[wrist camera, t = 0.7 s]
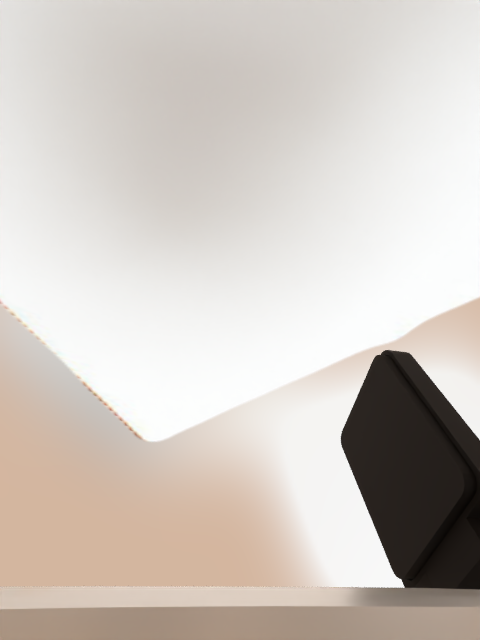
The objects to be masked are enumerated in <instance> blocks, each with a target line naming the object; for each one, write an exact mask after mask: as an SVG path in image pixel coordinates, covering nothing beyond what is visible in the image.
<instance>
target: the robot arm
mask: <svg viewBox="0 0 480 640" xmlns="http://www.w3.org/2000/svg"><path fill="white" fill-rule="evenodd" d="M341 445H342V448H343V450H344V453H345V455H346V458H347V460H348V463H349V465H350V467H351V470H352V472H353V475H354V477H355V480H356V482H357V485H358V487H359V489H360V492H361V494H362V497H363V499H364V501H365V504H366V507H367V509H368V511H369V514H370V516H371V518H372V521H373V524H374V526H375V529H376V531H377V533H378V536H379V538H380V541H381V543H382V546H383V548H384V550H385V553H386V555H387V558H388V560H389V563H390V565H391V568H392V570H393V572H394V574H395V575H396V576H397V577H398V578H400V579H402V582H403V584H404V586H405V588H358V587H355V588H354V587H133V586H127V587H125V586H122V587H121V586H119V587H116V586H114V587H113V586H112V587H111V586H110V587H109V586H103V587H102V586H100V587H98V586H97V587H96V586H91V587H90V586H87V587H0V640H480V440H479V439H478V438H477V436H476V435H475V434H474V433H473V432H472V430H471V429H470V428H469V426H468V425H467V424H466V423H465V421H464V420H463V419H462V418H461V416H460V415H459V414H458V413H457V412H456V410H455V409H454V408H453V406H452V405H451V404H450V403H449V401H448V400H447V399H446V398H445V396H444V395H443V394H442V393H441V392H440V390H439V389H438V388H437V386H436V385H435V384H434V383H433V381H432V380H431V379H430V378H429V377H428V375H427V374H426V373H425V371H424V370H423V369H422V368H421V366H420V365H419V364H418V363H417V362H416V360H415V359H414V358H413V357H412V355H411V354H409V353H407V352H399V351H391V350H385V351H383V352H382V353H381V355H377V356H376V357H375V358H374V360H373V362H372V364H371V366H370V369H369V371H368V373H367V376H366V378H365V380H364V383H363V385H362V387H361V389H360V392H359V394H358V397H357V399H356V401H355V403H354V405H353V408H352V410H351V412H350V415H349V417H348V419H347V422H346V424H345V426H344V428H343V431H342V434H341Z"/></svg>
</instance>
